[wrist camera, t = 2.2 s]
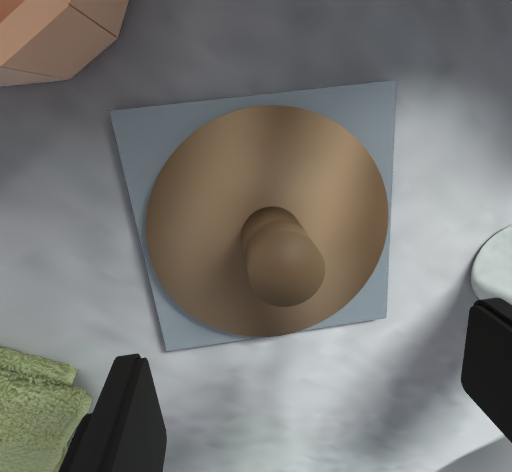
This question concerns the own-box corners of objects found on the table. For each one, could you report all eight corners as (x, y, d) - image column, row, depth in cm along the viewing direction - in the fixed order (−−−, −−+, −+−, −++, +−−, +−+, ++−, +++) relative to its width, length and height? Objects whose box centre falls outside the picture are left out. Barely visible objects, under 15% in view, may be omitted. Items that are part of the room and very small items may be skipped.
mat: (389, 81, 18) (396, 79, 17) (380, 311, 23) (386, 318, 22) (113, 110, 17) (108, 110, 16) (168, 343, 22) (166, 351, 21)
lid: (386, 91, 17) (454, 86, 12) (378, 312, 22) (425, 372, 17) (122, 120, 16) (81, 127, 11) (173, 343, 21) (160, 415, 16)
